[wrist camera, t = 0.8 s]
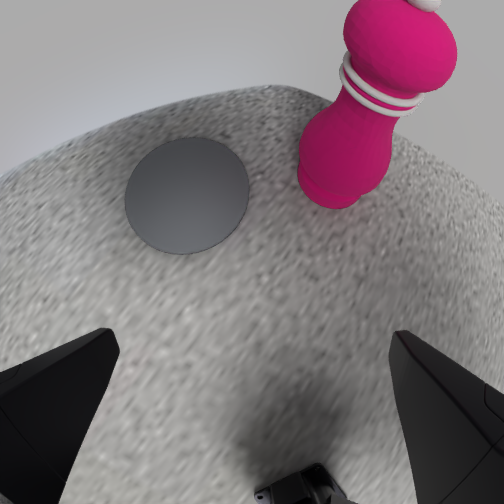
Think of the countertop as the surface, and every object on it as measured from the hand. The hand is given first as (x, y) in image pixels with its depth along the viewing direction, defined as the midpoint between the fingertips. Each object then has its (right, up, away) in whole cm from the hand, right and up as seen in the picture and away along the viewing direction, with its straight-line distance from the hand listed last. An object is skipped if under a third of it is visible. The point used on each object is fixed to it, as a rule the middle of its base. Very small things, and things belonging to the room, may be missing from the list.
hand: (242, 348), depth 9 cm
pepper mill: (+7, +10, +18) cm, 21 cm away
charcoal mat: (-5, +8, +17) cm, 19 cm away
